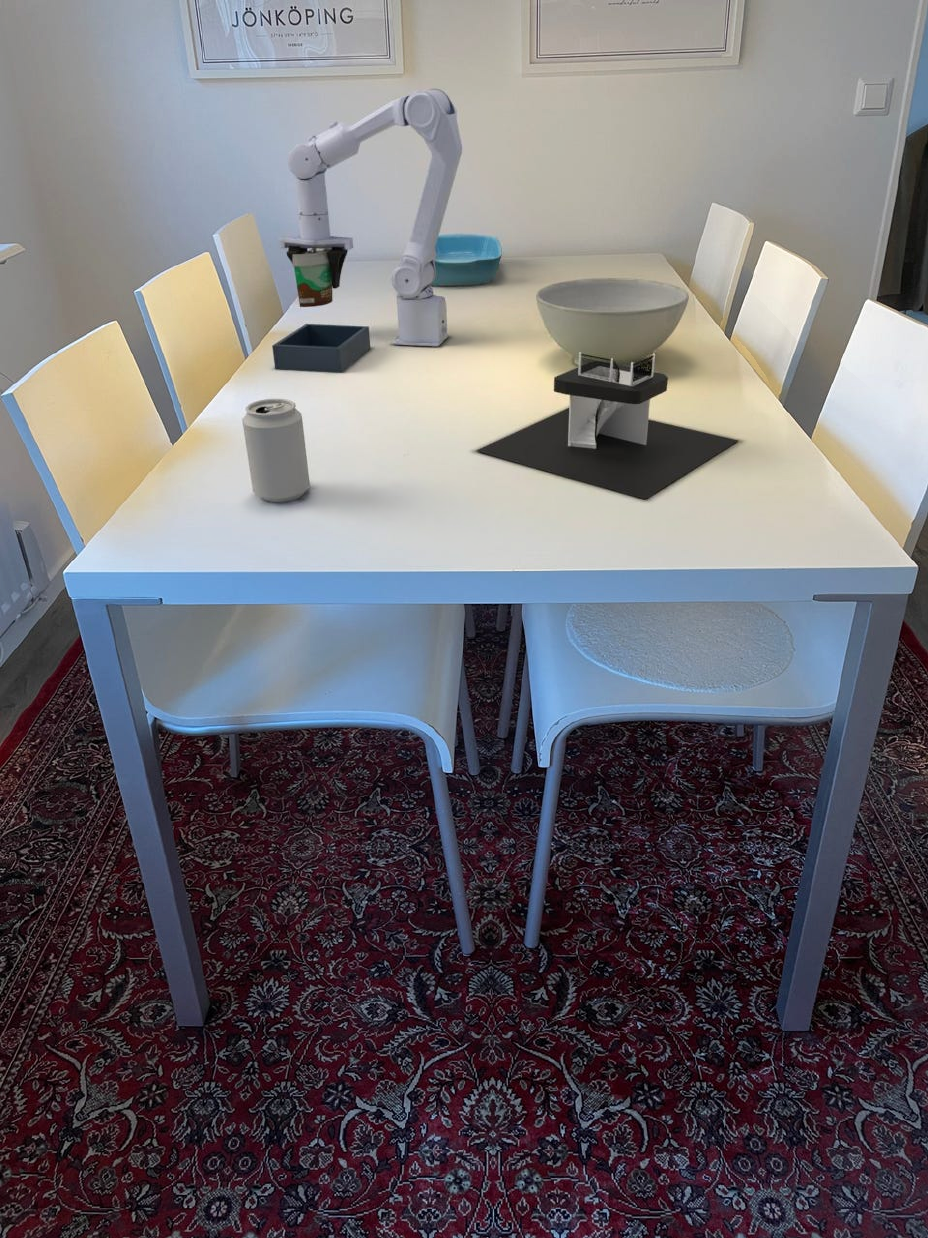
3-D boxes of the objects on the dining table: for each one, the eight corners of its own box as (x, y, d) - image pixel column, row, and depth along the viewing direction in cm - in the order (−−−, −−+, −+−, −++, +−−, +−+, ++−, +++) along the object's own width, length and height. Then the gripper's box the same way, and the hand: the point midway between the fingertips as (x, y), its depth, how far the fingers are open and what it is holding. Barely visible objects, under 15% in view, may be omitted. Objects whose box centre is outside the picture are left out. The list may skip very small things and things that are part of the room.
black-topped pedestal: (475, 451, 135) (474, 358, 128) (578, 404, 152) (582, 320, 145) (645, 500, 119) (654, 397, 112) (738, 441, 136) (751, 349, 129)
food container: (327, 309, 182) (322, 255, 177) (297, 308, 183) (291, 254, 178) (346, 295, 193) (342, 243, 187) (317, 294, 194) (313, 243, 188)
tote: (370, 348, 183) (368, 326, 181) (341, 372, 170) (339, 348, 168) (308, 345, 186) (305, 323, 184) (274, 368, 173) (271, 345, 171)
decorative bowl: (697, 349, 178) (704, 283, 171) (660, 390, 157) (667, 317, 151) (563, 336, 187) (565, 273, 181) (512, 374, 167) (512, 304, 160)
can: (256, 483, 127) (243, 396, 120) (312, 480, 127) (302, 393, 121) (250, 506, 120) (236, 415, 114) (309, 503, 121) (298, 412, 114)
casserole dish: (504, 289, 226) (504, 257, 222) (411, 291, 226) (410, 260, 223) (498, 259, 258) (498, 231, 254) (417, 261, 258) (416, 234, 254)
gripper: (269, 215, 178) (278, 289, 185) (341, 216, 175) (347, 292, 182) (284, 210, 184) (292, 282, 191) (354, 211, 180) (359, 284, 187)
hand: (320, 286), depth 187 cm, fingers closed on food container, 6 cm apart
